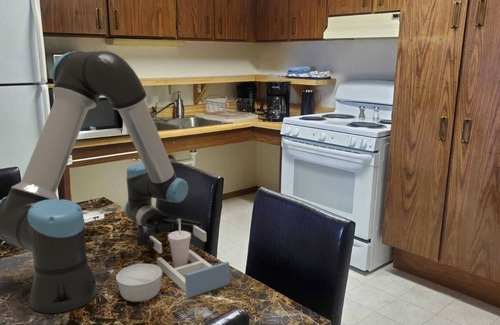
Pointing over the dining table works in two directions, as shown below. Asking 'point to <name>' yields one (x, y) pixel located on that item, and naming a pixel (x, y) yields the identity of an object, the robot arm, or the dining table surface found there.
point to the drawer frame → (197, 275)
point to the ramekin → (139, 282)
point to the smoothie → (179, 246)
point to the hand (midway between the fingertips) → (183, 242)
